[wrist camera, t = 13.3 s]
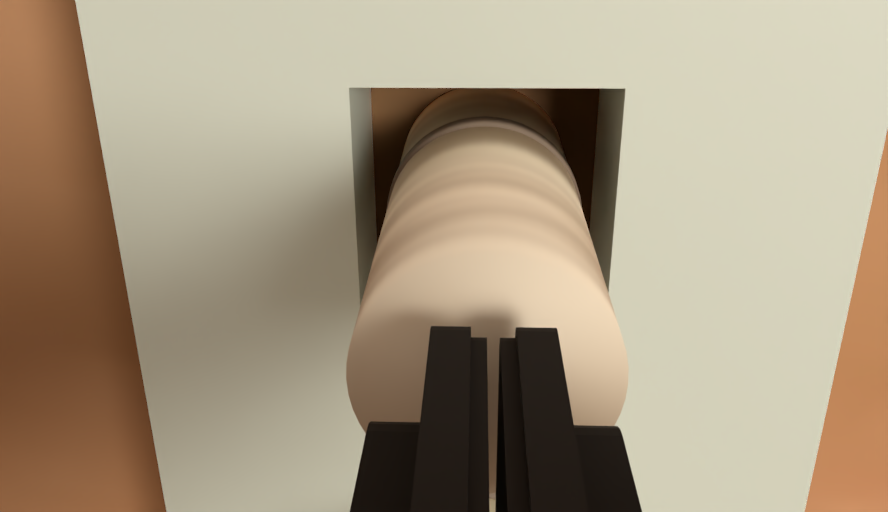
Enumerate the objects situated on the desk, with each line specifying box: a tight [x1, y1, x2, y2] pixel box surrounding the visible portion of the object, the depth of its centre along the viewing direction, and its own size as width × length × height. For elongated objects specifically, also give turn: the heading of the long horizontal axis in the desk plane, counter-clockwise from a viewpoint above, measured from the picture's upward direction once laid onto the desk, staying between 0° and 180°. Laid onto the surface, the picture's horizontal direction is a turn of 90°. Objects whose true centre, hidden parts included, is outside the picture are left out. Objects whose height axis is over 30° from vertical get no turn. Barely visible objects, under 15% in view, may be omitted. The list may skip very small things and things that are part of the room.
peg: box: [346, 88, 629, 493], centre depth 17 cm, size 4×4×10 cm
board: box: [75, 0, 888, 512], centre depth 18 cm, size 22×16×10 cm
